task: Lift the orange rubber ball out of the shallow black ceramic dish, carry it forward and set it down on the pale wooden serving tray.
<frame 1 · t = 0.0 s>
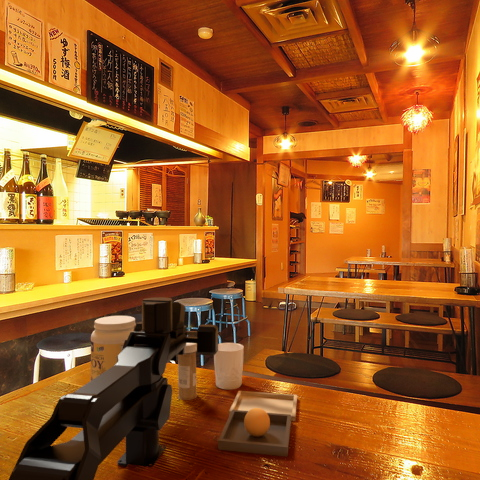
hand: (187, 329, 93), 17 cm above the table, tool horizontal, fingers open, 9 cm apart
supplement tub: (115, 383, 102), on the table
sprinkles bottle: (187, 399, 92), on the table
dish: (257, 438, 74), on the table
white cup: (228, 385, 101), on the table
tray: (264, 409, 86), on the table
ball: (257, 434, 74), point 1 cm above the table, touching dish
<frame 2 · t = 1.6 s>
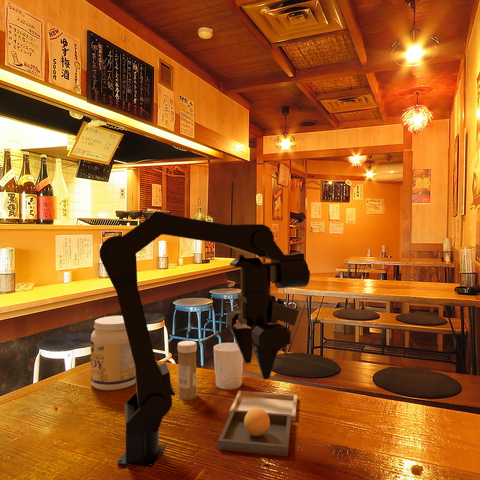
hand: (256, 370, 74), 13 cm above the table, tool pointing down, fingers open, 9 cm apart
nothing on the table moved.
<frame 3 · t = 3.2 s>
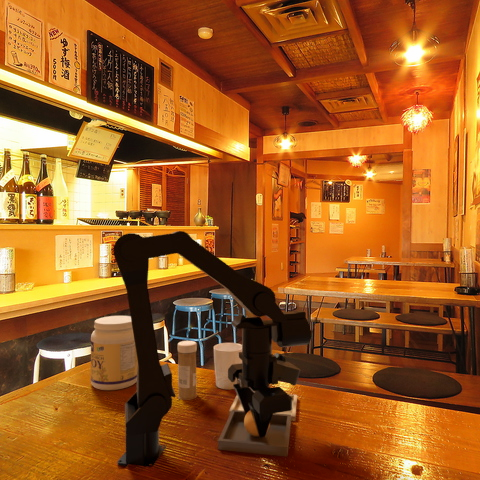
hand: (257, 429, 74), 2 cm above the table, tool pointing down, fingers closed on ball, 5 cm apart
ball: (257, 434, 74), point 1 cm above the table, touching dish, gripper
everything else where it was.
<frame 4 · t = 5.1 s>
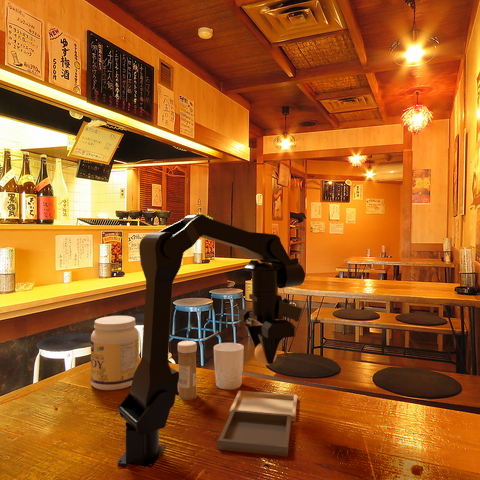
hand: (265, 359, 86), 11 cm above the table, tool pointing down, fingers closed on ball, 5 cm apart
ball: (265, 364, 86), point 10 cm above the table, touching gripper
everything else where it was.
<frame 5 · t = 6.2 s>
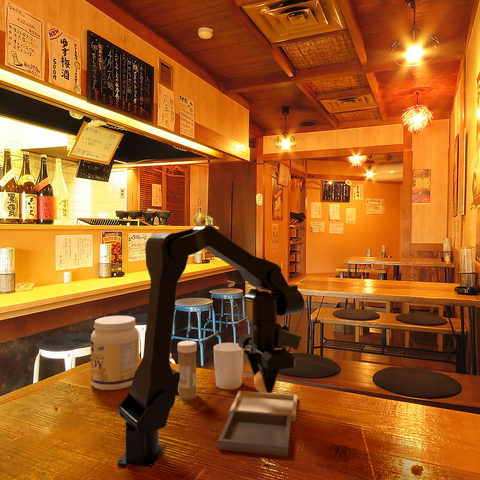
hand: (264, 387, 86), 5 cm above the table, tool pointing down, fingers closed on ball, 5 cm apart
ball: (264, 392, 86), point 4 cm above the table, touching gripper
everything else where it was.
when the fingers open (3 cm above the table, at t = 6.9 s): ball drops 2 cm, resting on tray.
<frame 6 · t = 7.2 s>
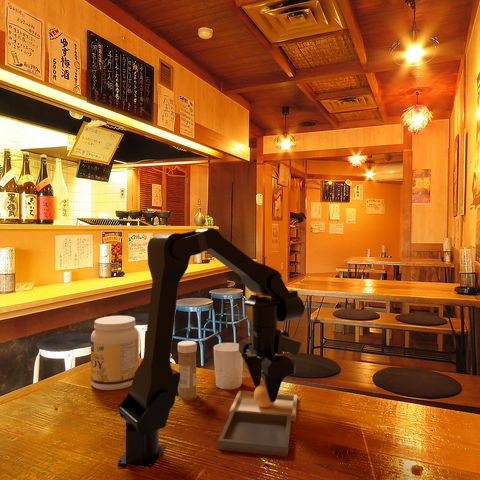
hand: (264, 393, 86), 3 cm above the table, tool pointing down, fingers open, 8 cm apart
ball: (265, 406, 86), point 1 cm above the table, touching tray
everything else where it was.
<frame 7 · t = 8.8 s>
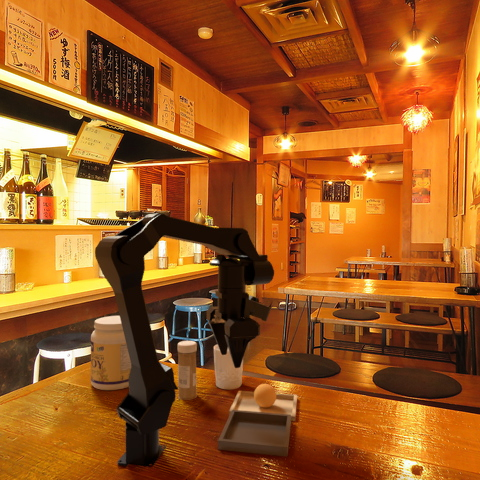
hand: (230, 360, 81), 13 cm above the table, tool pointing down, fingers open, 9 cm apart
nothing on the table moved.
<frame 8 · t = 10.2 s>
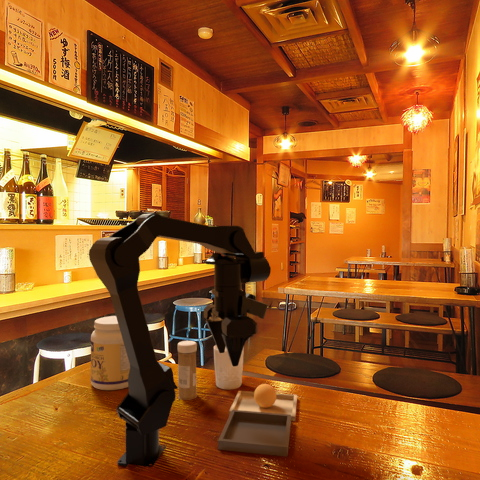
hand: (228, 359, 81), 13 cm above the table, tool pointing down, fingers open, 9 cm apart
nothing on the table moved.
at the end: ball inside the target area on the tray (0.1 cm from its centre), point 0.6 cm above the tray's base; the gripper is holding nothing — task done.
